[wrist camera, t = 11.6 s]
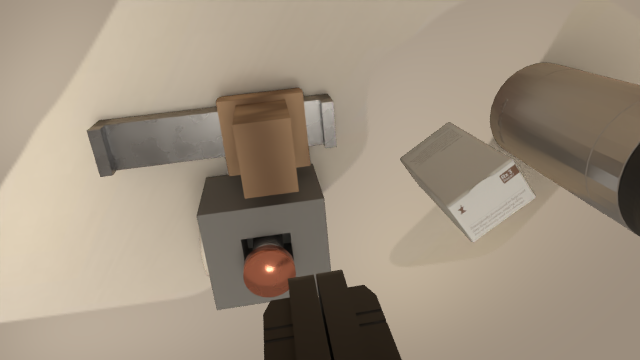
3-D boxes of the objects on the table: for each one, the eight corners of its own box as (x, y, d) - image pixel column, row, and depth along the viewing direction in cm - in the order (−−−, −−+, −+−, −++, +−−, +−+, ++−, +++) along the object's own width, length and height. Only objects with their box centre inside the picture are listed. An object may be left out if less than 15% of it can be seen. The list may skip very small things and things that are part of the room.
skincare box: (420, 188, 47) (472, 249, 36) (396, 155, 45) (443, 210, 34) (471, 150, 46) (541, 201, 35) (448, 116, 44) (514, 158, 33)
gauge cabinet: (312, 163, 44) (324, 198, 37) (320, 245, 48) (333, 292, 40) (202, 178, 43) (191, 216, 36) (218, 260, 47) (212, 310, 40)
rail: (327, 93, 42) (333, 101, 39) (331, 136, 44) (336, 146, 41) (99, 120, 40) (86, 130, 37) (111, 163, 42) (100, 176, 39)
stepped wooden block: (299, 84, 41) (311, 109, 32) (306, 152, 43) (319, 193, 35) (218, 93, 40) (209, 122, 32) (230, 162, 43) (224, 206, 34)
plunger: (286, 208, 42) (292, 249, 35) (291, 246, 43) (298, 293, 37) (241, 214, 41) (239, 257, 35) (248, 253, 43) (247, 301, 36)
